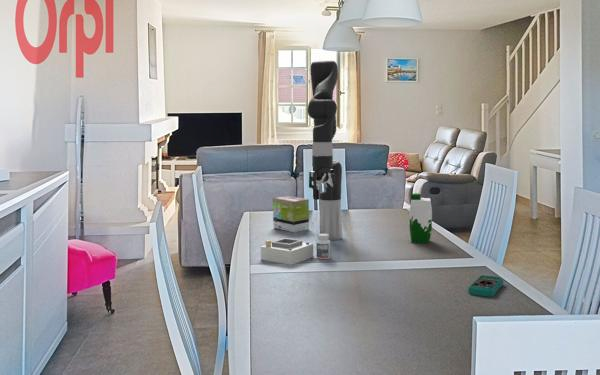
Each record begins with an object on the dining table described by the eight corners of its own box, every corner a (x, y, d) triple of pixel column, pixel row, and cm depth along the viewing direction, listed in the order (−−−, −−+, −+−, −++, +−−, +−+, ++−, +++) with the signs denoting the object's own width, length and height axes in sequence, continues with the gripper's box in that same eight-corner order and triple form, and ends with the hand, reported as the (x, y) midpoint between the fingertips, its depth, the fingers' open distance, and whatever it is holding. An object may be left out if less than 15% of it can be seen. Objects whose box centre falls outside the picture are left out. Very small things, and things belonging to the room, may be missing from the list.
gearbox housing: (283, 252, 229) (283, 234, 228) (313, 256, 221) (313, 238, 220) (261, 259, 217) (260, 241, 216) (291, 264, 209) (291, 245, 208)
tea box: (272, 228, 277) (272, 197, 275) (288, 225, 283) (287, 195, 282) (293, 233, 266) (293, 200, 264) (309, 229, 272) (309, 198, 271)
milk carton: (409, 239, 250) (410, 192, 247) (431, 239, 248) (432, 192, 245) (409, 243, 241) (409, 195, 239) (431, 244, 239) (432, 195, 237)
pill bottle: (321, 255, 223) (321, 232, 222) (333, 257, 220) (333, 234, 219) (313, 258, 218) (313, 235, 217) (325, 260, 215) (325, 236, 214)
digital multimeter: (467, 295, 174) (467, 285, 173) (479, 282, 186) (480, 273, 186) (492, 299, 170) (492, 289, 169) (503, 286, 182) (503, 276, 182)
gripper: (324, 153, 222) (324, 195, 224) (302, 155, 211) (303, 199, 213) (341, 153, 218) (341, 196, 220) (320, 155, 207) (320, 201, 208)
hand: (322, 198), depth 216 cm, fingers open, 8 cm apart
